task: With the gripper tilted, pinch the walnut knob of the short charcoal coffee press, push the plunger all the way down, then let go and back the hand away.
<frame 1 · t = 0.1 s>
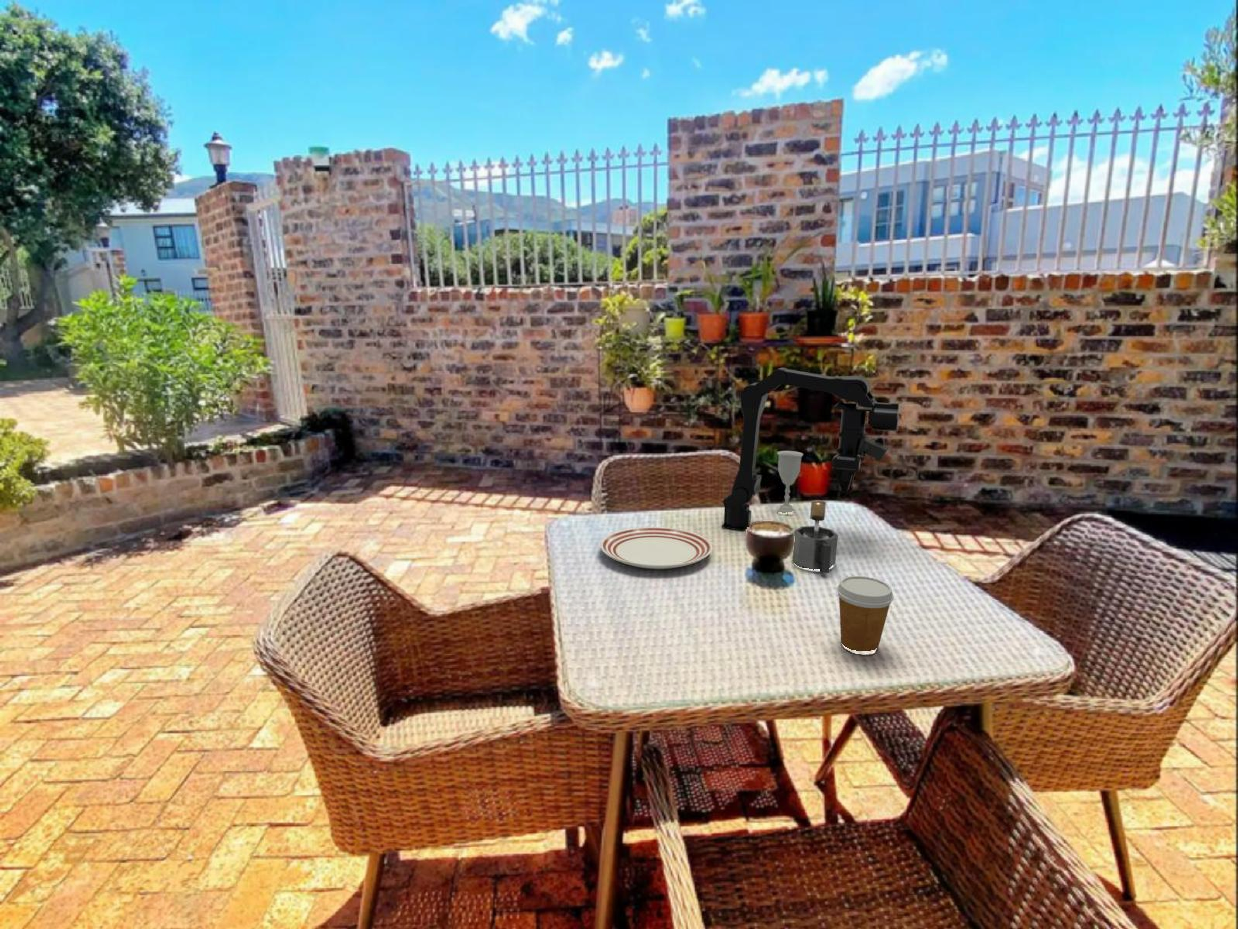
hand: (847, 488, 164), 15 cm above the table, tool pointing down, fingers open, 9 cm apart
dinner plate: (655, 556, 159), on the table
press carafe: (813, 564, 154), on the table
plunger: (816, 524, 151), point 10 cm above the table, slide at 3.5 cm
disposable coffee cup: (859, 647, 117), on the table
chalice: (785, 513, 191), on the table
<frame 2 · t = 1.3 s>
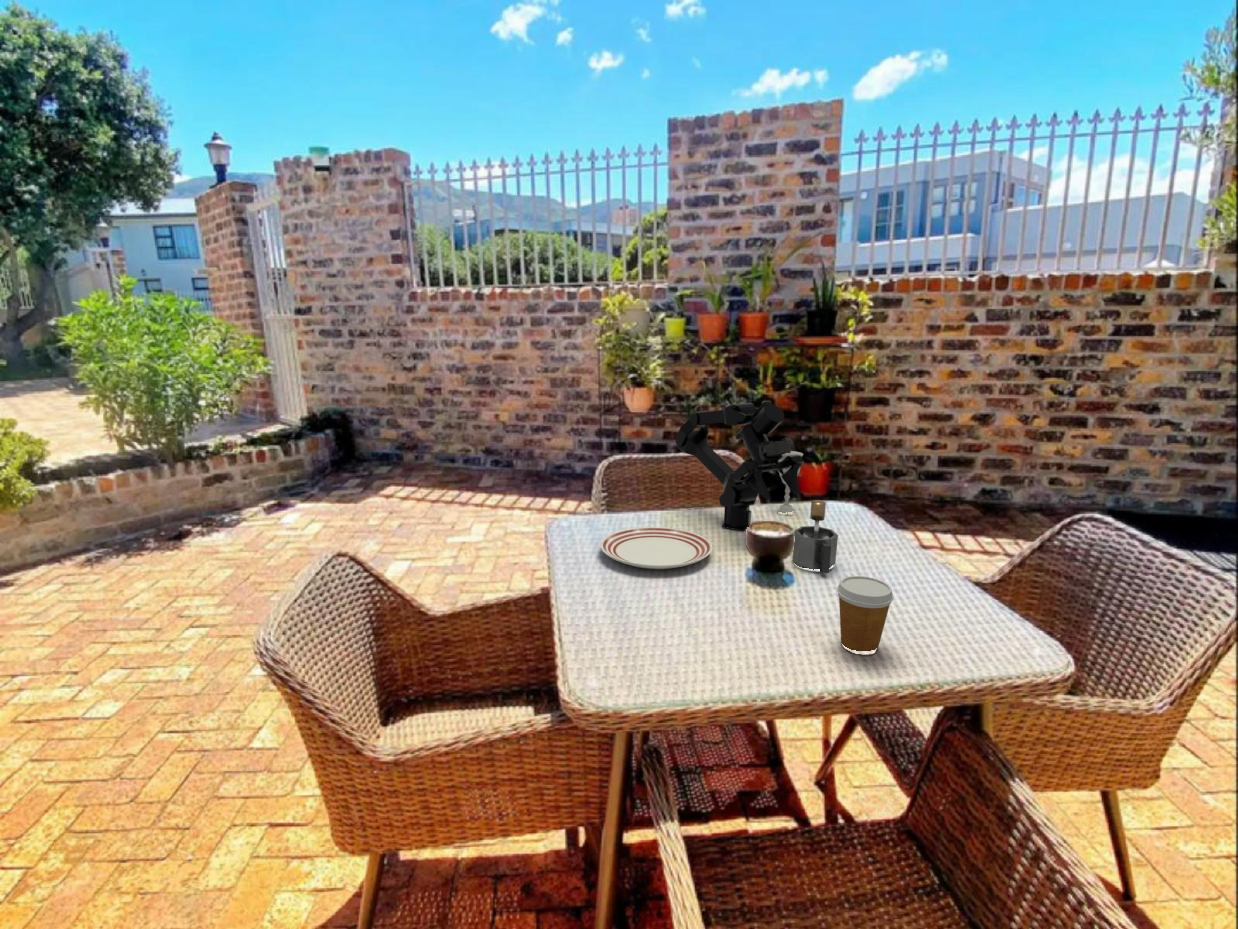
hand: (783, 496, 161), 13 cm above the table, tool tilted 45°, fingers open, 9 cm apart
nothing on the table moved.
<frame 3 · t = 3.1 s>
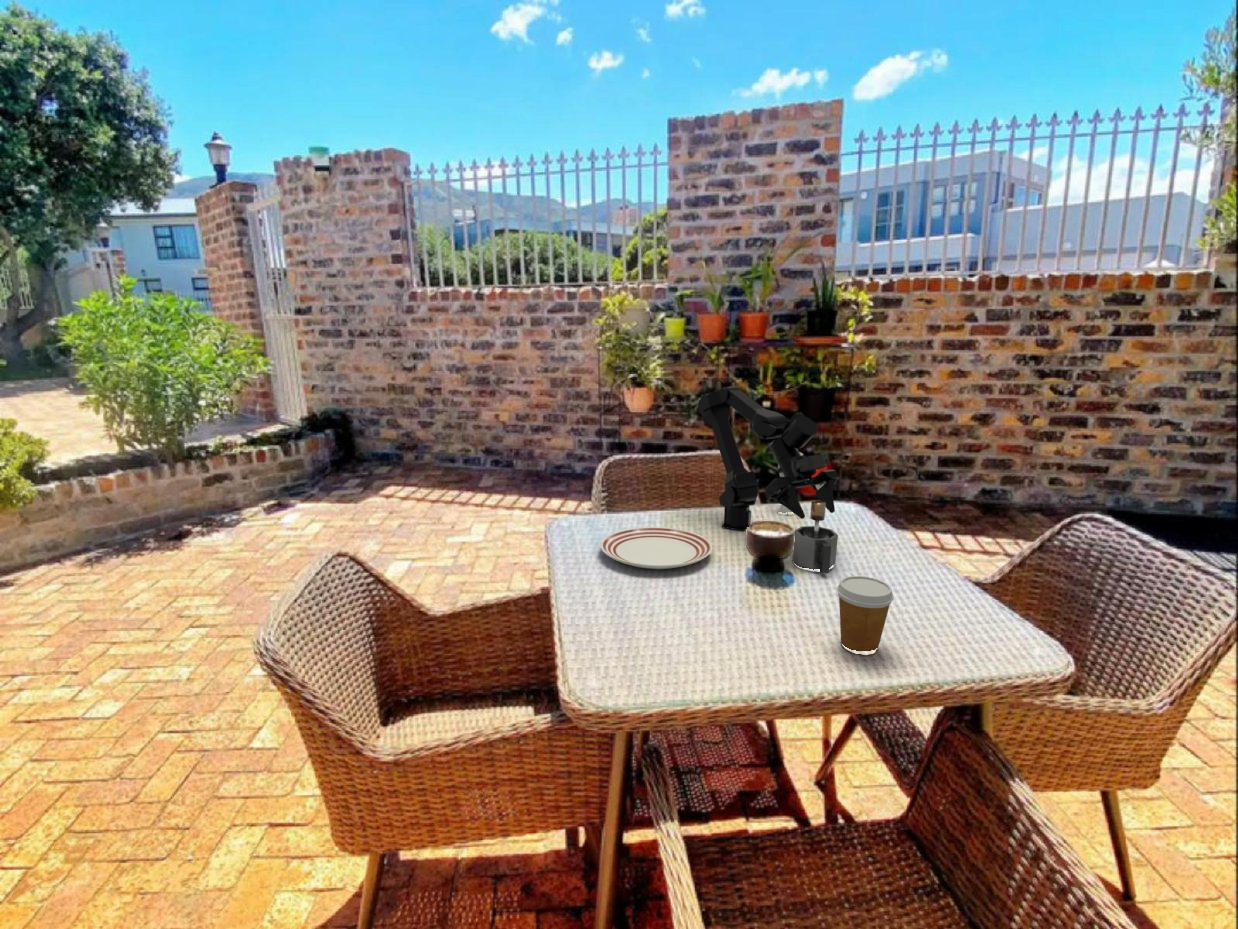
hand: (818, 515, 150), 12 cm above the table, tool tilted 45°, fingers open, 9 cm apart
nothing on the table moved.
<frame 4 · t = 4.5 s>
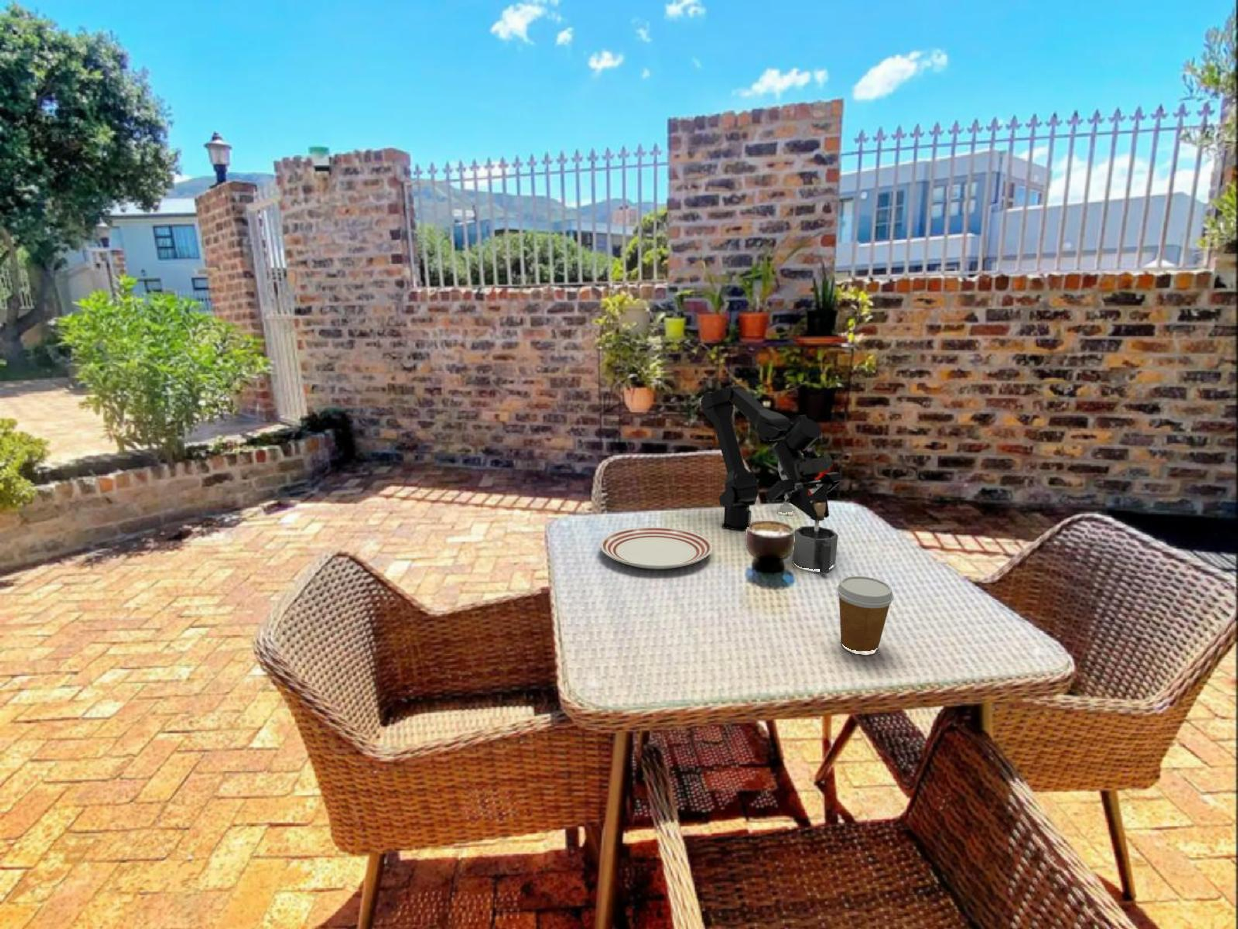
hand: (821, 518, 150), 12 cm above the table, tool tilted 45°, fingers closed on plunger, 3 cm apart
plunger: (816, 524, 151), point 10 cm above the table, slide at 3.5 cm, touching gripper
everything else where it was.
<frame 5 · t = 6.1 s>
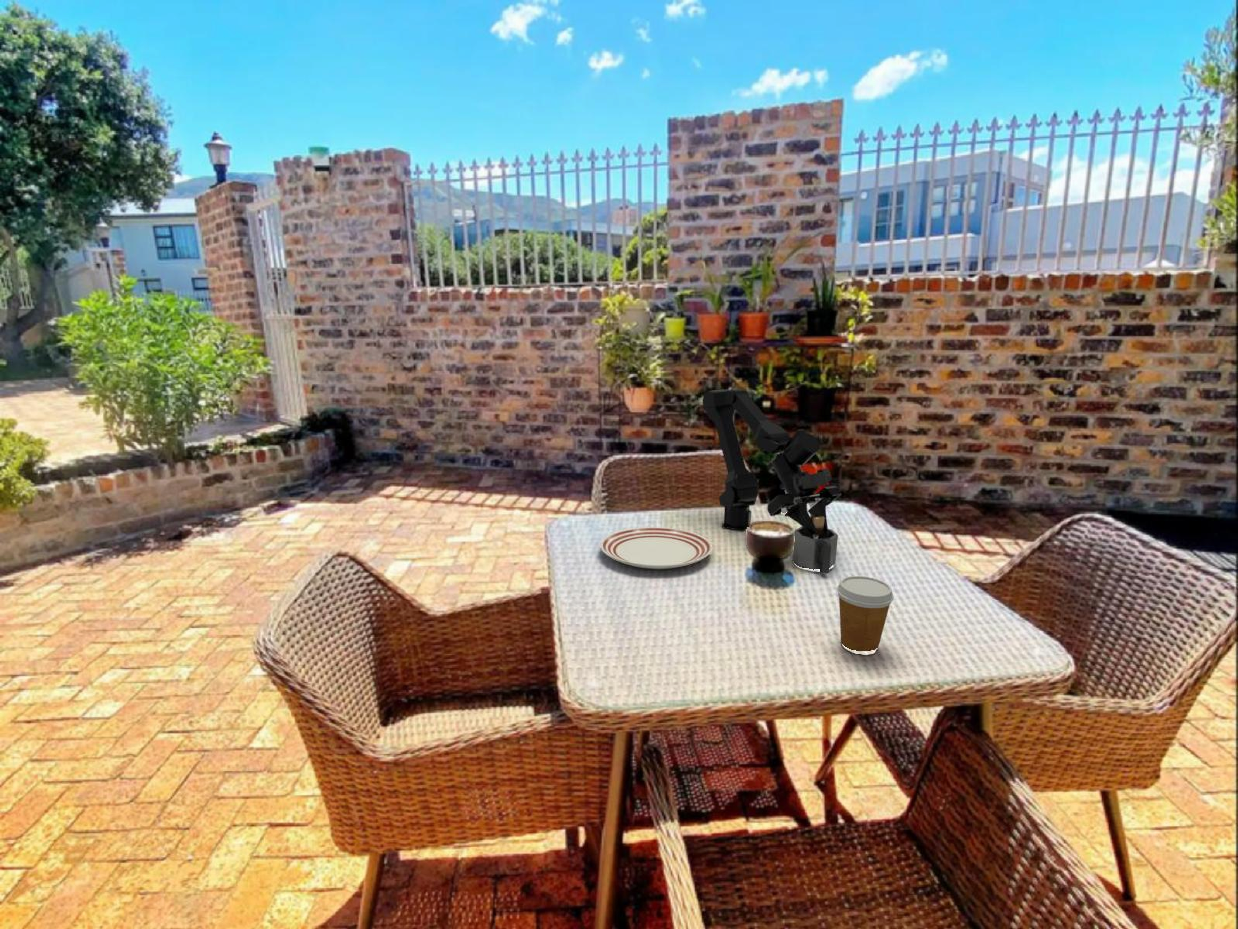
hand: (820, 532, 150), 9 cm above the table, tool tilted 45°, fingers closed on plunger, 3 cm apart
plunger: (815, 538, 152), point 7 cm above the table, slide at 0.0 cm, touching gripper
everything else where it was.
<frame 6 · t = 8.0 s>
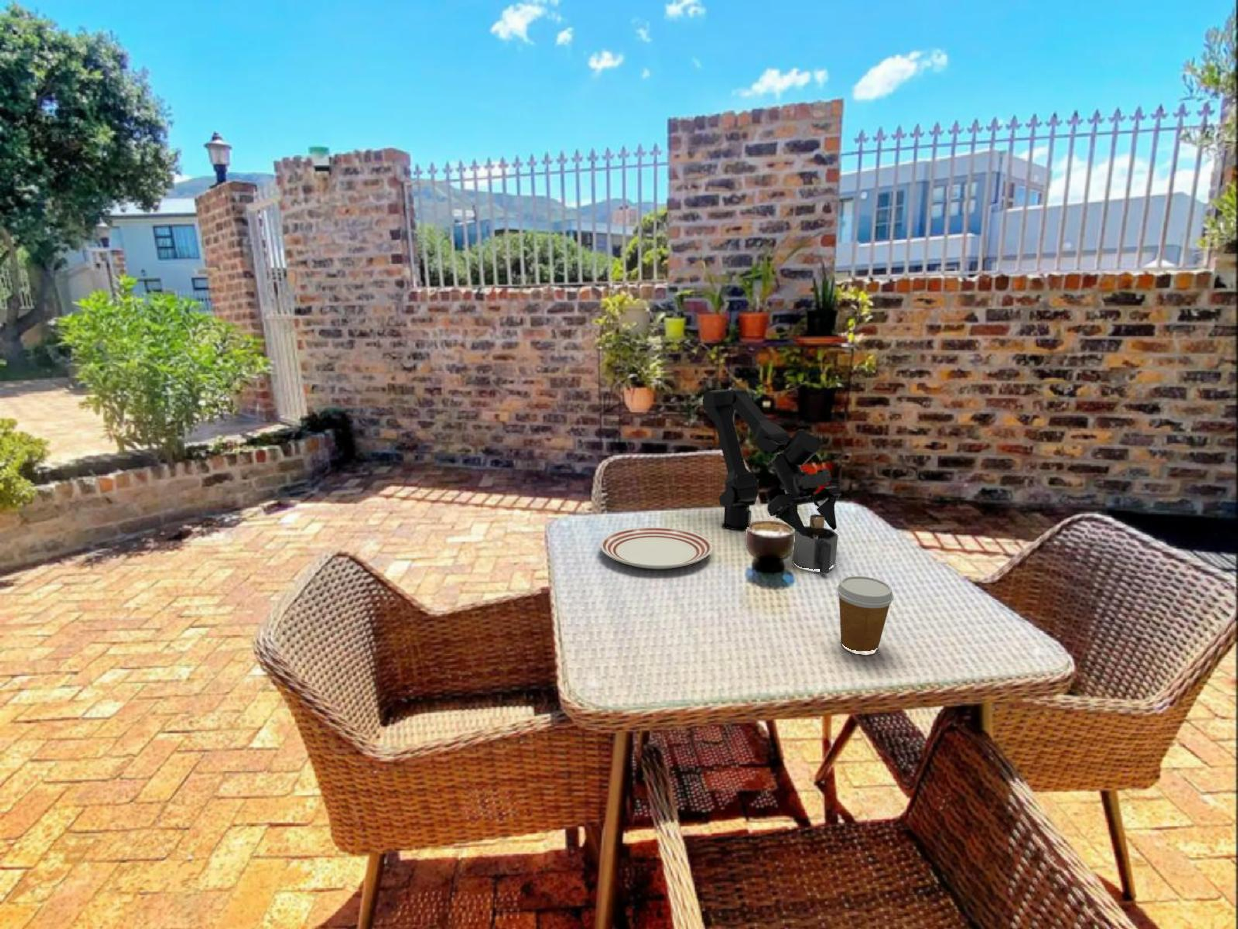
hand: (820, 532, 150), 9 cm above the table, tool tilted 45°, fingers open, 9 cm apart
plunger: (815, 538, 152), point 7 cm above the table, slide at 0.0 cm
everything else where it was.
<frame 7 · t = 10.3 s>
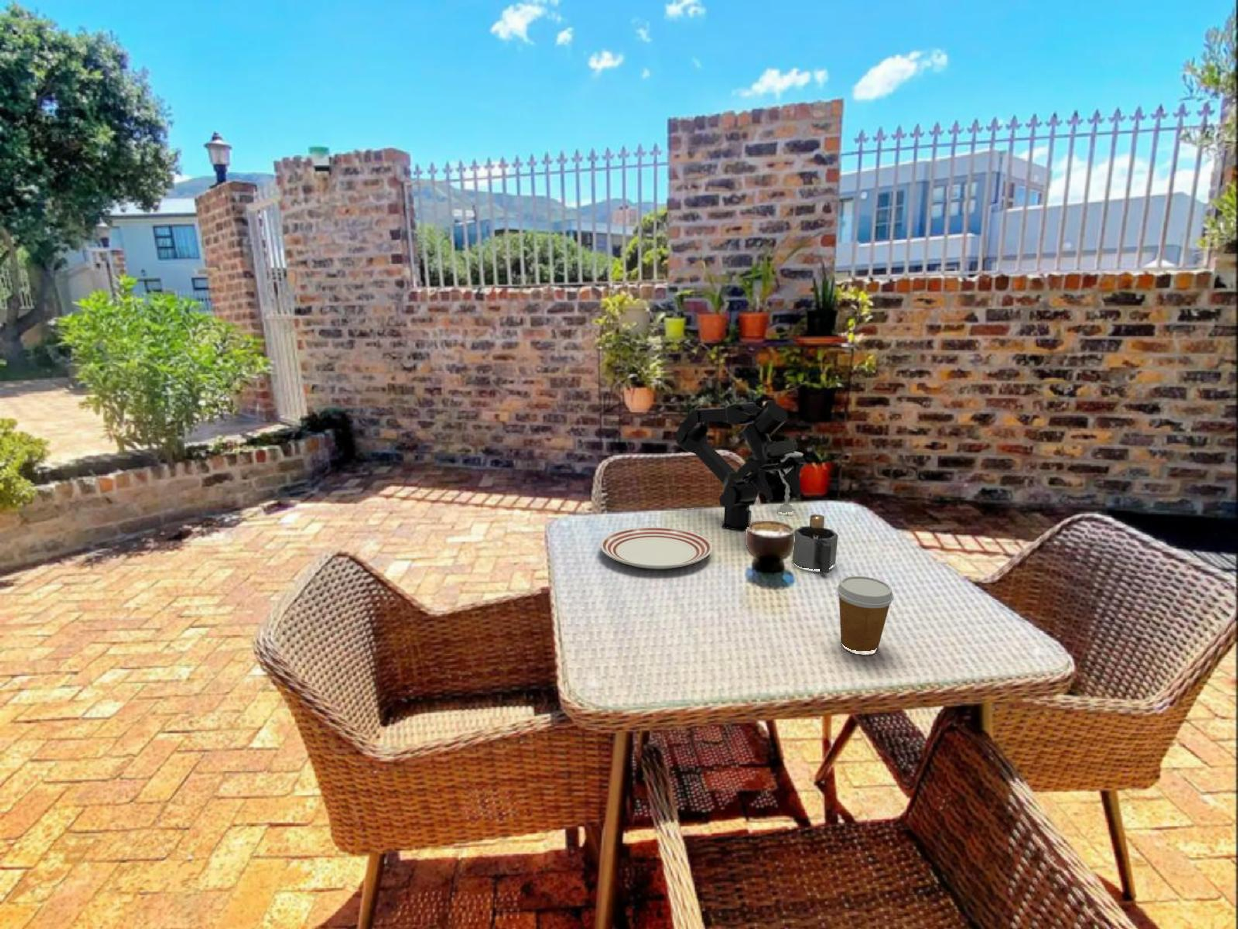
hand: (785, 497, 160), 14 cm above the table, tool tilted 45°, fingers open, 9 cm apart
nothing on the table moved.
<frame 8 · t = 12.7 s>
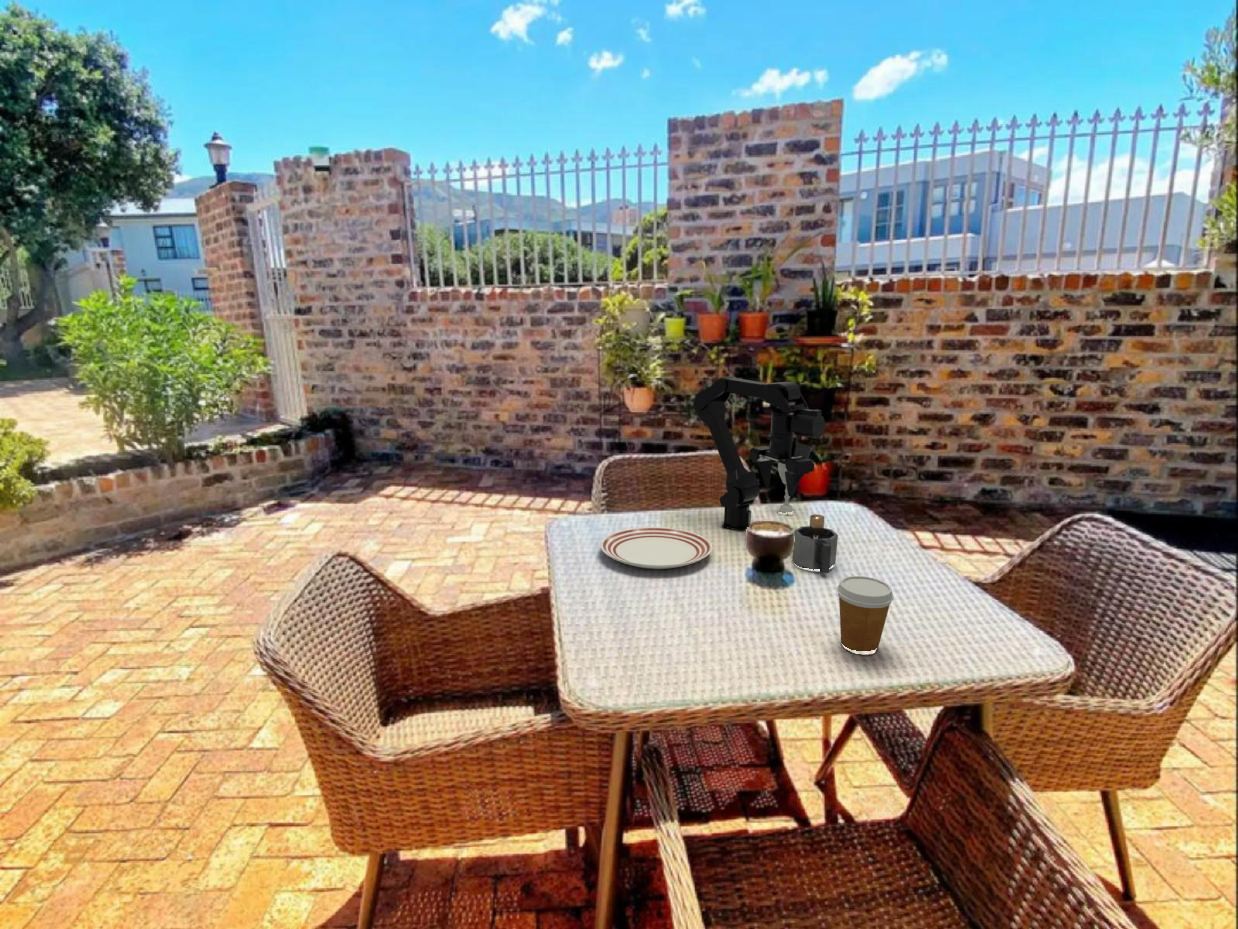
hand: (778, 491, 167), 13 cm above the table, tool pointing down, fingers open, 9 cm apart
nothing on the table moved.
at the end: plunger slide at 0.0 cm; chalice moved 0.2 cm from its start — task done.
